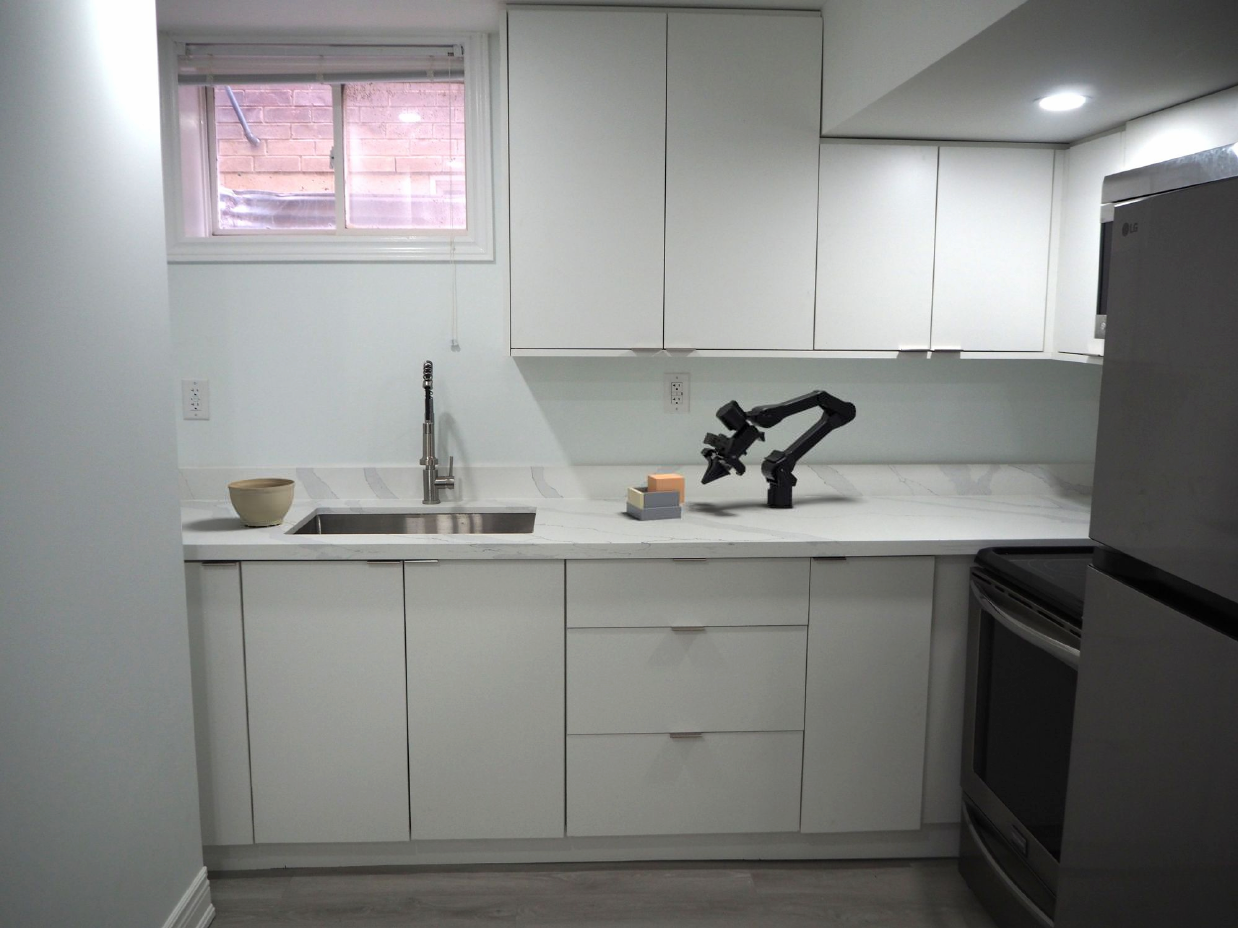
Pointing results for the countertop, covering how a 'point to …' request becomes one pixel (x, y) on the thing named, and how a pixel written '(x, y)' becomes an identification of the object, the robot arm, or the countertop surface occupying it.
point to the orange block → (667, 484)
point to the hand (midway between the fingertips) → (702, 483)
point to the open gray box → (653, 504)
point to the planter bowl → (262, 500)
